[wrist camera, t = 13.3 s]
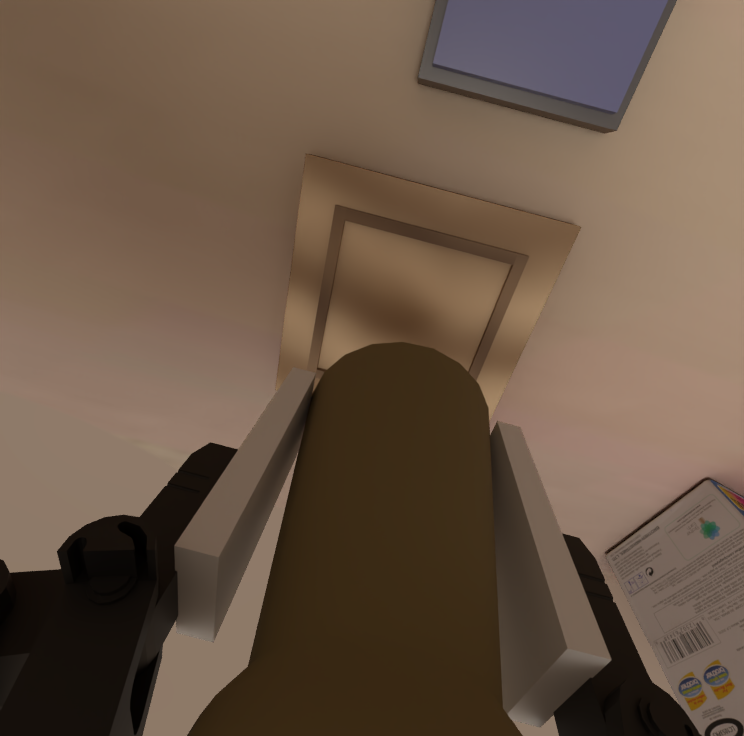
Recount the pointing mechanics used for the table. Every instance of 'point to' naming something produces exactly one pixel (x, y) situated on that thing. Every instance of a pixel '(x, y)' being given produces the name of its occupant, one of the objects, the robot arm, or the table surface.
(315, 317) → the board
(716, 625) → the ink cartridge box
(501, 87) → the ink pad
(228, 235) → the table surface
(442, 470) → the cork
